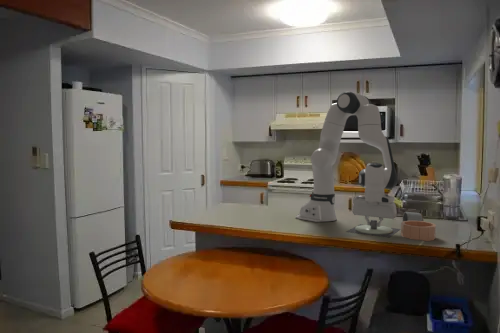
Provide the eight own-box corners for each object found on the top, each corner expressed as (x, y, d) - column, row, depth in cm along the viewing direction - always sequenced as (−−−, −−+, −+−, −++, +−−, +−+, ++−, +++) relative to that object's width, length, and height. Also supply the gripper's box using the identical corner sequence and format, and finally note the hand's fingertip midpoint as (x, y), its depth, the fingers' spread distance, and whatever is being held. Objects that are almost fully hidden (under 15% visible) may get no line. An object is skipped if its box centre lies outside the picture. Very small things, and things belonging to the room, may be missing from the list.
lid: (350, 231, 194) (350, 221, 193) (362, 225, 208) (362, 215, 208) (386, 236, 184) (387, 225, 184) (396, 229, 198) (396, 219, 198)
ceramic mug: (424, 228, 202) (424, 213, 201) (407, 228, 202) (407, 213, 201) (415, 224, 212) (415, 209, 212) (399, 224, 212) (399, 209, 212)
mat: (345, 232, 193) (346, 231, 193) (360, 225, 210) (360, 224, 210) (389, 238, 182) (389, 237, 182) (400, 230, 199) (400, 229, 199)
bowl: (398, 238, 183) (398, 224, 183) (405, 232, 195) (406, 219, 194) (431, 242, 175) (432, 228, 175) (437, 235, 187) (438, 222, 186)
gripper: (350, 196, 198) (350, 224, 199) (394, 199, 187) (393, 229, 188) (355, 194, 203) (354, 222, 204) (398, 198, 192) (397, 227, 193)
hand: (373, 226), depth 196 cm, fingers closed on lid, 3 cm apart
